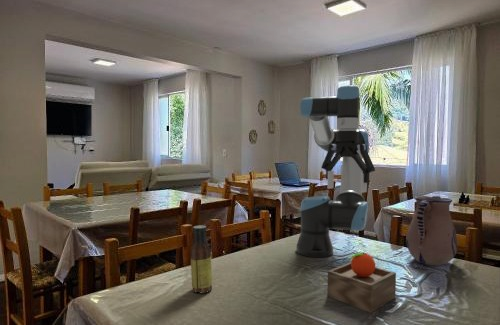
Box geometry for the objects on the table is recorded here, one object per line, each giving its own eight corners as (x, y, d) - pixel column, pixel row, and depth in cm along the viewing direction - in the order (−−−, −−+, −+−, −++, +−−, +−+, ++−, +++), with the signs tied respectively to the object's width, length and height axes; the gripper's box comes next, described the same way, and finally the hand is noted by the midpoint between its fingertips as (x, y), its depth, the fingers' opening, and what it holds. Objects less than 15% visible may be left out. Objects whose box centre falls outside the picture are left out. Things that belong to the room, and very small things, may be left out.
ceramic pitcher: (459, 260, 136) (461, 196, 134) (452, 277, 119) (454, 204, 117) (410, 252, 146) (412, 192, 145) (398, 266, 129) (399, 199, 128)
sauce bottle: (215, 287, 109) (215, 225, 108) (206, 295, 103) (206, 229, 102) (196, 284, 111) (196, 223, 110) (187, 292, 105) (186, 228, 104)
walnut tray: (327, 295, 104) (327, 271, 103) (353, 283, 113) (353, 260, 112) (370, 312, 93) (371, 285, 93) (395, 297, 102) (395, 272, 102)
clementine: (353, 281, 99) (354, 257, 99) (343, 273, 106) (343, 249, 105) (379, 280, 100) (380, 255, 100) (367, 271, 107) (368, 248, 107)
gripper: (312, 131, 130) (311, 187, 131) (374, 129, 111) (373, 195, 112) (324, 131, 135) (324, 186, 136) (386, 129, 116) (384, 193, 117)
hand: (346, 190), depth 124 cm, fingers open, 13 cm apart
